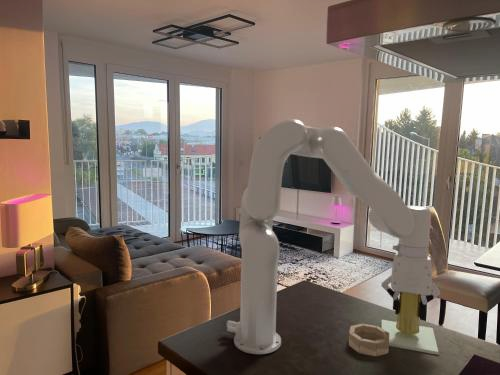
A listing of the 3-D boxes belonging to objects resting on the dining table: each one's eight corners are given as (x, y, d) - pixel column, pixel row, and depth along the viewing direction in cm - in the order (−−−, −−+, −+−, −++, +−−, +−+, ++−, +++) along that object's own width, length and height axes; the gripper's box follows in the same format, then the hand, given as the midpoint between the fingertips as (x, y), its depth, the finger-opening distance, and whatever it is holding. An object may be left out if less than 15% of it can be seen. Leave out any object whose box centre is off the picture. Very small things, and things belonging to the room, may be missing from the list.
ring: (347, 350, 97) (348, 337, 97) (351, 333, 106) (351, 321, 106) (388, 359, 93) (389, 345, 93) (388, 340, 103) (389, 328, 102)
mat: (380, 344, 101) (380, 341, 101) (381, 322, 114) (381, 319, 114) (438, 354, 96) (438, 351, 96) (432, 330, 109) (432, 328, 109)
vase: (415, 325, 107) (418, 276, 106) (422, 335, 101) (426, 284, 100) (393, 323, 108) (396, 275, 106) (399, 333, 102) (402, 283, 100)
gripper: (379, 250, 102) (375, 314, 104) (450, 258, 96) (444, 326, 98) (380, 244, 109) (376, 304, 111) (445, 251, 103) (440, 314, 105)
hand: (408, 313), depth 104 cm, fingers closed on vase, 5 cm apart
